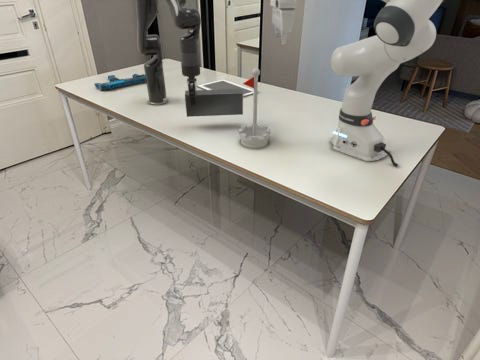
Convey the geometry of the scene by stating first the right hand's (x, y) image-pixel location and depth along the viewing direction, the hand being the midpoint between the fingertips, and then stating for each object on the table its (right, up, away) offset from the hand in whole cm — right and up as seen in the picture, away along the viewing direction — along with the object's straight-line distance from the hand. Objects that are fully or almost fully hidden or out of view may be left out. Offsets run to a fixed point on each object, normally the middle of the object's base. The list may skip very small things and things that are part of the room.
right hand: (280, 41), depth 128 cm
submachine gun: (-87, +8, +81) cm, 119 cm away
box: (-27, -23, +22) cm, 41 cm away
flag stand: (-9, -37, +12) cm, 40 cm away
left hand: (-36, -19, +18) cm, 44 cm away
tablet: (-23, 0, +69) cm, 73 cm away
